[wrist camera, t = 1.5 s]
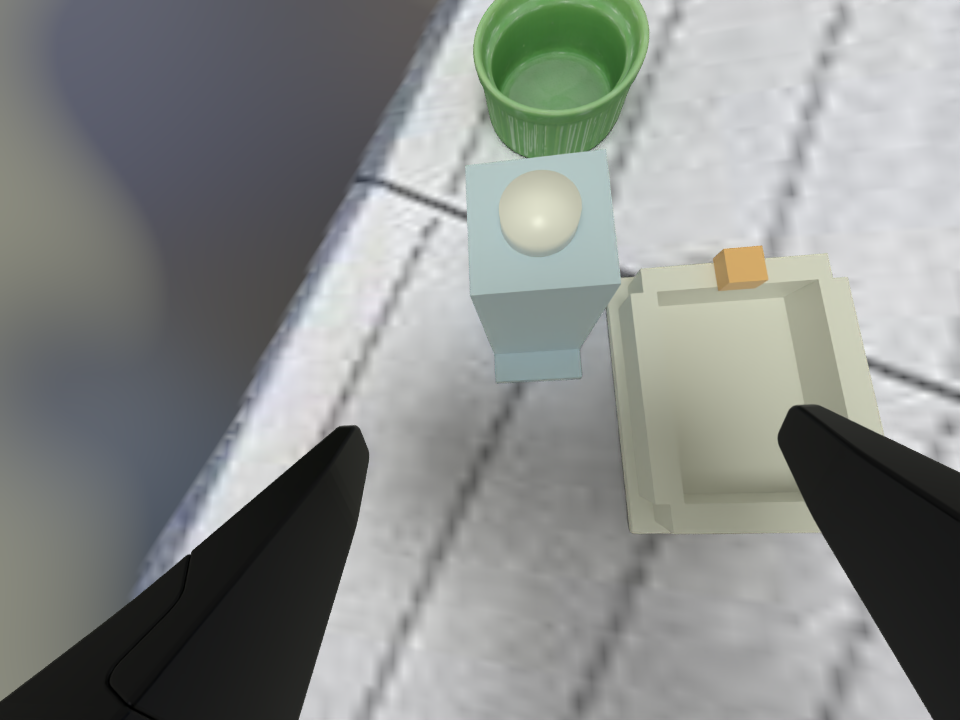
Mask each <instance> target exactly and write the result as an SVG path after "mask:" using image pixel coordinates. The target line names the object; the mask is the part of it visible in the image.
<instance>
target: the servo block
mask: <svg viewBox="0 0 960 720" xmlns="http://www.w3.org/2000/svg"><path fill="white" fill-rule="evenodd" d="M465 171H466V198H467V225H468V252H469V279H470V296H471V299H472V301H473V304H474V306H475V309H476V311H477V313H478V316H479V318H480V321H481V323H482V325H483V328H484V330H485V333H486V335H487V338H488V340H489V342H490V345H491V347H492V350H493V352H494V356H495V377H496V383H497V384H499V383H518V382H536V381H555V380H573V379H581V378H582V372H581V360H580V347H581V346H582V344H583V343H584V341H585V339H586V338H587V336H588V335H589V333H590V332H591V330H592V329H593V327H594V325H595V324H596V322H597V321H598V319H599V318H600V316H601V314H602V313H603V311H604V310H605V308H606V307H607V305H608V303H609V302H610V300H611V299H612V297H613V296H614V294H615V293H616V291H617V289H618V288H619V286H620V285H621V277H620V268H619V259H618V250H617V242H616V233H615V224H614V216H613V207H612V198H611V189H610V181H609V172H608V163H607V155H606V149H603V150H594V151H586V152H577V153H569V154H560V155H551V156H543V157H534V158H526V159H517V160H509V161H500V162H492V163H483V164H474V165H466V166H465Z"/></svg>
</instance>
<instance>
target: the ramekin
mask: <svg viewBox="0 0 960 720" xmlns="http://www.w3.org/2000/svg"><path fill="white" fill-rule="evenodd" d="M648 43H649V25H648V20H647V17H646V13H645V11H644V9H643V7H642V5H641V3H640V1H639V0H495V1H494V2H493V3H492V4H491V5H490V7H489V8H488V9H487V11H486V12H485V14H484V15H483V17H482V19H481V21H480V23H479V25H478V27H477V31H476V34H475V39H474V45H473V55H474V63H475V67H476V71H477V74H478V77H479V80H480V82H481V84H482V86H483V88H484V92H485V97H486V102H487V106H488V111H489V115H490V118H491V123H492V125H493V127H494V129H495V132H496V133H497V135H498V136H499V138H500V139H501V140H502V141H503V142H504V143H505V144H506V145H507V146H508V147H509V148H510V149H512V150H513V151H515V152H516V153H518V154H520V155H522V156H525V157H527V158H534V157H543V156H551V155H560V154H569V153H577V152H586V151H588V150H590V149H592V148H593V147H595V146H596V145H597V144H599V143H600V142H601V141H602V140H603V139H604V138H605V137H606V136H607V135H608V133H609V132H610V131H611V129H612V128H613V126H614V124H615V123H616V121H617V119H618V117H619V114H620V112H621V109H622V106H623V104H624V101H625V98H626V96H627V93H628V90H629V88H630V85H631V84H632V83H633V81H634V80H635V78H636V76H637V74H638V72H639V70H640V68H641V66H642V64H643V61H644V59H645V56H646V53H647V49H648Z"/></svg>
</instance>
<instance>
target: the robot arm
mask: <svg viewBox="0 0 960 720" xmlns="http://www.w3.org/2000/svg"><path fill="white" fill-rule="evenodd" d="M777 439H778V445H779V447H780V450H781V452H782V454H783V456H784V458H785V460H786V463H787V465H788V467H789V469H790V471H791V473H792V475H793V478H794V480H795V482H796V484H797V486H798V488H799V491H800V493H801V495H802V497H803V499H804V501H805V503H806V506H807V507H808V509H809V511H810V513H811V515H812V517H813V519H814V521H815V523H816V524H817V526H818V528H819V530H820V531H821V533H822V535H823V536H824V538H825V540H826V541H827V543H828V545H829V546H830V548H831V550H832V551H833V553H834V555H835V556H836V558H837V560H838V561H839V563H840V565H841V566H842V568H843V570H844V571H845V573H846V575H847V576H848V578H849V580H850V581H851V583H852V585H853V586H854V588H855V590H856V591H857V593H858V595H859V596H860V598H861V600H862V601H863V603H864V605H865V606H866V608H867V610H868V611H869V613H870V615H871V617H872V618H873V620H874V622H875V623H876V625H877V627H878V628H879V630H880V632H881V633H882V635H883V637H884V638H885V640H886V642H887V643H888V645H889V647H890V648H891V650H892V652H893V653H894V655H895V657H896V658H897V660H898V662H899V663H900V665H901V667H902V668H903V670H904V672H905V673H906V675H907V677H908V678H909V680H910V682H911V683H912V685H913V687H914V688H915V690H916V692H917V693H918V695H919V697H920V698H921V700H922V702H923V703H924V705H925V707H926V708H927V710H928V712H929V713H930V715H931V717H932V719H933V720H960V472H958V471H956V470H954V469H951V468H949V467H947V466H945V465H943V464H941V463H939V462H937V461H935V460H933V459H931V458H929V457H926V456H924V455H922V454H920V453H918V452H916V451H914V450H912V449H910V448H908V447H906V446H904V445H901V444H899V443H897V442H895V441H893V440H891V439H889V438H887V437H885V436H883V435H881V434H879V433H876V432H874V431H872V430H870V429H868V428H866V427H864V426H862V425H860V424H858V423H856V422H854V421H851V420H849V419H847V418H845V417H843V416H841V415H839V414H837V413H835V412H833V411H831V410H829V409H827V408H824V407H822V406H820V405H817V404H803V405H794V406H792V407H791V408H790V409H789V410H788V412H787V414H786V417H785V419H784V421H783V423H782V426H781V428H780V430H779V432H778V437H777ZM368 463H369V451H368V448H367V445H366V443H365V440H364V438H363V435H362V433H361V430H360V428H359V427H358V426H356V425H348V426H339V427H338V428H336V429H335V430H334V431H333V432H331V433H330V434H329V435H328V436H327V437H326V438H324V439H323V440H322V441H321V442H320V443H318V444H317V445H316V446H315V447H314V448H313V449H311V450H310V451H309V452H308V453H307V454H305V455H304V456H303V457H302V458H301V459H300V460H298V461H297V462H296V463H295V464H294V465H293V466H291V467H290V468H289V469H288V470H287V471H285V472H284V473H283V474H282V475H281V476H280V477H278V478H277V479H276V480H275V481H274V482H273V483H271V484H270V485H269V486H268V487H267V488H265V489H264V490H263V491H262V492H261V493H260V494H258V495H257V496H256V497H255V498H254V499H252V500H251V501H250V502H249V503H248V504H247V505H245V506H244V507H243V508H242V509H241V510H240V511H238V512H237V513H236V514H235V515H234V516H232V517H231V518H230V519H229V520H228V521H227V522H225V523H224V524H223V525H222V526H221V527H220V528H218V529H217V530H216V531H215V532H214V533H212V534H211V535H210V536H209V537H208V538H207V539H205V540H204V541H203V542H202V543H201V544H199V545H198V546H197V547H196V548H195V549H194V550H193V551H192V552H191V555H190V554H188V555H186V556H185V557H184V558H183V559H182V560H180V561H179V562H178V563H177V564H176V565H175V566H173V567H172V568H171V569H170V570H169V571H168V572H166V573H165V574H164V575H163V576H161V577H160V578H159V579H158V580H157V581H155V582H154V583H153V584H152V585H151V586H149V587H148V588H147V589H146V590H144V591H143V592H142V593H141V594H140V595H138V596H137V597H136V598H135V599H133V600H132V601H131V602H130V603H128V604H127V605H126V606H124V607H123V608H122V609H121V610H119V611H118V612H117V613H116V614H114V615H113V616H112V617H110V618H109V619H108V620H107V621H105V622H104V623H103V624H102V625H100V626H99V627H98V628H96V629H95V630H94V631H92V632H91V633H90V634H89V635H87V636H86V637H84V638H83V639H82V640H81V641H79V642H78V643H77V644H75V645H74V646H73V647H71V648H70V649H69V650H68V651H66V652H65V653H64V654H62V655H61V656H60V657H58V658H57V659H56V660H54V661H53V662H52V663H50V664H49V665H48V666H46V667H45V668H44V669H43V670H41V671H40V672H39V673H37V674H36V675H35V676H33V677H32V678H31V679H29V680H28V681H27V682H25V683H24V684H23V685H21V686H20V687H19V688H18V689H16V690H15V691H14V692H12V693H11V694H10V695H8V696H7V697H6V698H4V699H3V700H2V701H0V720H299V716H300V713H301V710H302V706H303V703H304V700H305V696H306V693H307V690H308V686H309V683H310V680H311V676H312V673H313V670H314V666H315V663H316V660H317V656H318V653H319V650H320V646H321V643H322V640H323V636H324V633H325V630H326V626H327V623H328V620H329V616H330V613H331V610H332V606H333V603H334V600H335V596H336V593H337V590H338V586H339V583H340V580H341V576H342V573H343V570H344V566H345V563H346V560H347V556H348V553H349V550H350V546H351V543H352V540H353V536H354V533H355V529H356V526H357V521H358V517H359V512H360V506H361V501H362V495H363V490H364V484H365V479H366V474H367V468H368Z"/></svg>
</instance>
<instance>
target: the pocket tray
mask: <svg viewBox="0 0 960 720" xmlns="http://www.w3.org/2000/svg"><path fill="white" fill-rule="evenodd" d="M713 262H714V263H705V264H693V265H681V266H669V267H657V268H645V269H640V270H639V272H638V273H637V275H636V276H635V277H627V278H621V285H620V286H619V288H618V289H617V291H616V293H615V294H614V296H613V297H612V299H611V300H610V302H609V303H608V305H607V307H606V312H607V322H608V331H609V340H610V350H611V359H612V369H613V378H614V388H615V397H616V407H617V416H618V426H619V435H620V445H621V454H622V464H623V473H624V483H625V492H626V502H627V511H628V520H629V530H630V532H631V533H633V534H659V533H673V534H741V533H821V531H820V530H819V528H818V526H817V524H816V523H815V521H814V519H813V517H812V515H811V513H810V511H809V509H808V507H807V506H806V503H805V501H804V499H803V497H802V495H801V493H800V491H799V488H798V486H797V484H796V482H795V480H794V478H793V475H792V473H791V471H790V469H789V467H788V465H787V463H786V460H785V458H784V456H783V454H782V452H781V450H780V447H779V445H778V439H777V437H778V432H779V430H780V428H781V426H782V423H783V421H784V419H785V417H786V414H787V412H788V410H789V409H790V408H791V407H792V406H794V405H803V404H817V405H820V406H822V407H824V408H827V409H829V410H831V411H833V412H835V413H837V414H839V415H841V416H843V417H845V418H847V419H849V420H851V421H854V422H856V423H858V424H860V425H862V426H864V427H866V428H868V429H870V430H872V431H874V432H876V433H879V434H881V435H883V436H884V432H883V428H882V424H881V419H880V415H879V411H878V406H877V402H876V398H875V393H874V389H873V385H872V380H871V376H870V372H869V367H868V363H867V359H866V355H865V350H864V346H863V342H862V337H861V333H860V329H859V324H858V320H857V316H856V311H855V307H854V303H853V298H852V294H851V290H850V285H849V281H848V277H842V278H833V276H832V272H831V267H830V263H829V258H828V254H827V253H825V254H813V255H801V256H789V257H777V258H764V253H763V248H762V246H752V247H740V248H729V249H723V250H722V251H721V252H720V253H719V254H718V255H716V256H715V257H714V258H713Z"/></svg>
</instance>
